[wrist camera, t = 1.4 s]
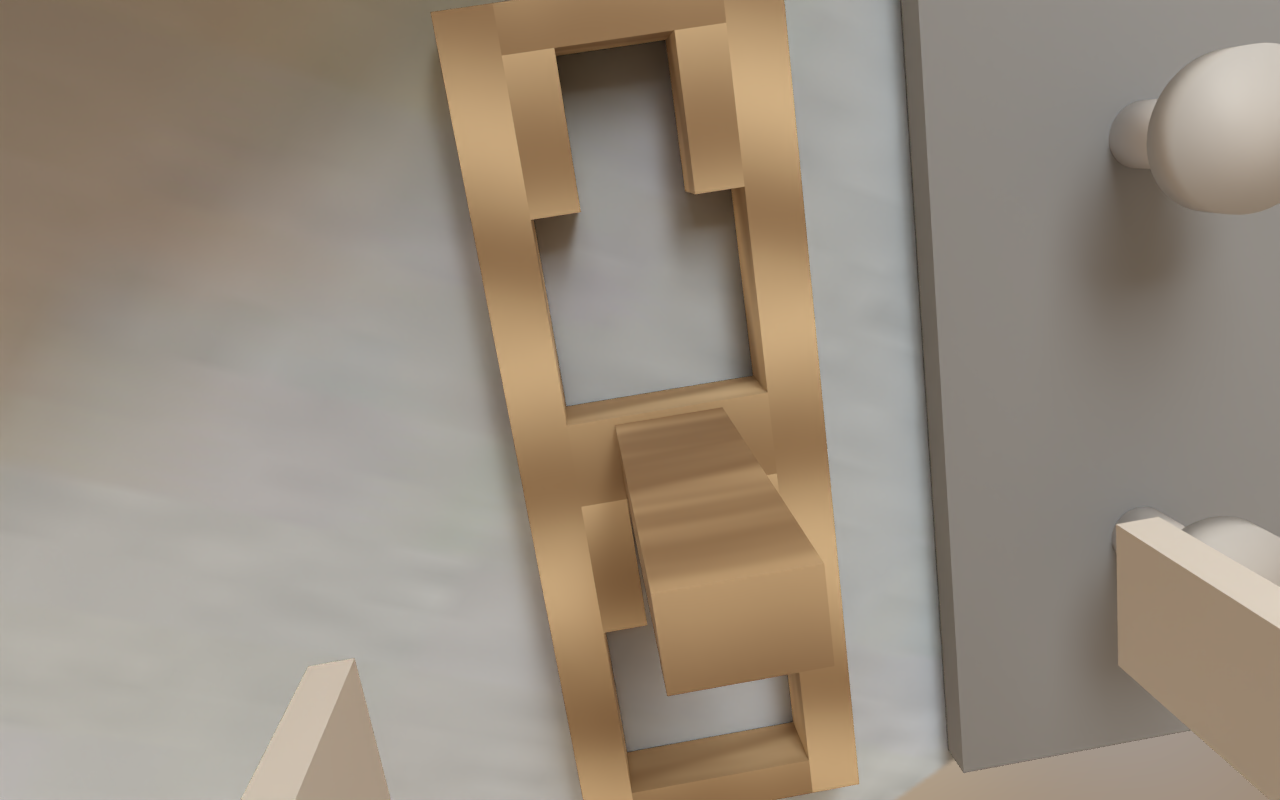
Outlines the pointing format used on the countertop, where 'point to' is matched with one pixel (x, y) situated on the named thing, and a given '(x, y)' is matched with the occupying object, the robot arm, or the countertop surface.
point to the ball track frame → (667, 403)
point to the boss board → (1088, 333)
